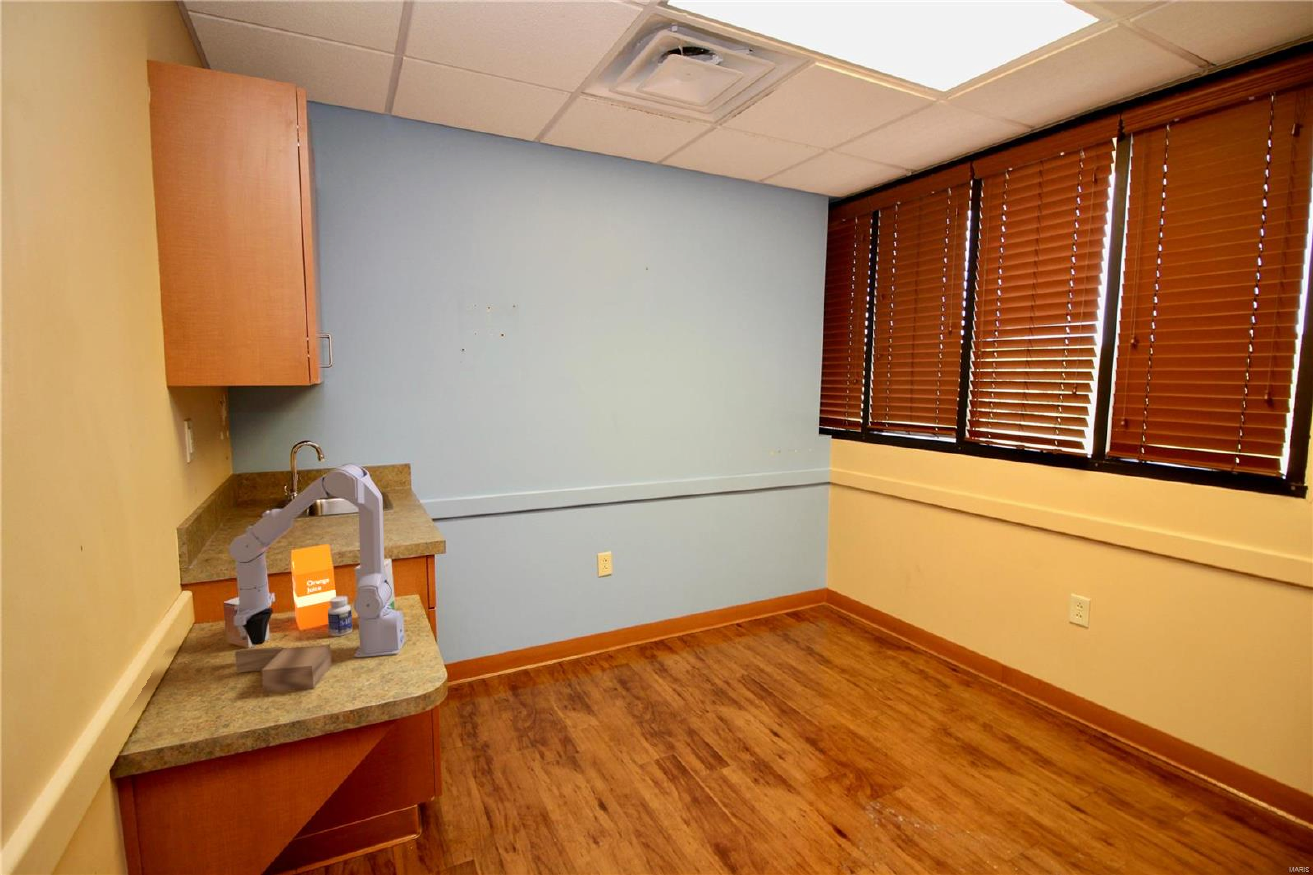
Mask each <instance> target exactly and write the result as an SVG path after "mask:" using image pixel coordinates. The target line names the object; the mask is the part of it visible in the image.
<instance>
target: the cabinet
mask: <svg viewBox="0 0 1313 875" xmlns="http://www.w3.org/2000/svg"><path fill="white" fill-rule="evenodd" d="M282 648H283V649H282V650H281V651H280V652H279V653H278V654H277V655H276V656H275V657H274V658H273V659H272V660H271V661H270V662H269V663H268V664H267V665H266V666H265V667H264V668H263V669H262V670H261V674H262V675H261V676H262V687H263V688H262V689H263V694H271V693H283V692H285V693H286V692H294V691H306V690H315V688H316V687H317V685H318V684H319V682H320V681H321V680H322V679H323V678H324V677H325V675H327V673H328V671H329V670H330V669H331V668H332V656H331V645H330V644H324V645H323V644H320V645H309V646H308V645H307V646H299V647H298V646H297V647H282Z"/></svg>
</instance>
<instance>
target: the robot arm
mask: <svg viewBox="0 0 1313 875" xmlns="http://www.w3.org/2000/svg"><path fill="white" fill-rule="evenodd" d="M331 496H333V497H335V498H338V499H339V498H340V499H342V500H344V501H348V502H349V503H350V504H352V505H353V506H355V507H356V508H357V509H358V527H359V528H358V532H359V533H358V534H359V539H358V540H359V562H360V564H359V565H360V574H361V575H360V580H359V584H358V594H357V593H356V596H355V599H354V601H353V609H354V611H355V613H356V614H357V622H358V624H357V625H358V636H359V648H358V649H357V651H356V652H355V654H354V655H353V656H354V658H364V657H365V658H366V657H376V656H377V657H378V656H390V655H398V654H399V652H400V650H401V649H402V647H403V645H404V643H406V635H405V621H404V613H403V611H402V610H396V609H395V610H392V609H391V606H390V604H389V602H388V600H389V599H390V597H391V595H392V587H391V585H390V584H389V582H388V574H387V573H386V572H385V570H384V559H385V548H384V546H385V545H384V542H385V541H384V540H385V538H384V510H383V509H384V508H383V507H384V503H383V502H384V501H383V494H382V493H381V492H380V491H379V488H378V487H377V486H376V484H375V483H374V481H373V479H372V478H371V475H370V473H369V471H368V470H367V469H365V468H364V467H362V466H360V465H359V464H357V463H354V462H348V463H347V462H346V463H345V464H342V465H341V466H339V467H337V468H334V469H332V470H329V471H328V472H327V473H326V474H325V475H323V476H321V477H319V478H317V479H315V480H314V481H313V482H311V483H310V484H309V485H308V486H306V488H305V489H303V491H301V492H300V493H299V494H298V495H297V496H296V497H294V498H293V499H292V500H291V501H290V502H289V503H288V504H286V506H284V507H283V508H274V509H272V510H268V509H267V510H266V511H265V512H263V513H262V514H261V516H262V518H260V519H259V520H258V521H257V522H256V523H254V524H253V525H252V526H251V525H249V526H247V527H246V528H245V529H244V530H245V533H243V534H242V535H239V536H236V537H234V539H233V540H232V542H231V543H230V545H229V548H228V551H229V552H228V553H229V555H230V557H231V558H232V559H233V560H235V571H236V582H237V592H238V593H237V594H238V597H239V604H238V605H236V606H235V607H234V610H238V611H237V614H236V616H234V617H233V618H234V626H237V625H242V626H243V627H244V628H245V630H246V632H247V634H248V636H249V638H250V641H251V643H252V645H255V646H257V645H262V644H264V643H265V642H266V641H265V637H266V631H267V626H268V622H270V619H271V617H272V615H273V612H274V609H273V608H271V606H272V603H273V602H276V597H275V592H270V591H269V579H268V578H269V577H268V568H267V561H266V560H267V558H266V557H267V556H266V553H267V551H268V549H269V547H270V546H272V545H273V544H275V543H276V542H277V541H278V540H280V539H281V538H282V537H283V536H284V535H285V534H286V533H288V532H289V531H290V530H292V528H293V527H294V520H295V518H296V517H298V516H299V515H300V514H302V513H303V512H304V511H305V510H306V509H308V508H310V506H311V505H313V504H314V503H316V501H318V500H319V499H323V498H325V499H326V498H329V497H331ZM266 608H267V609H266Z"/></svg>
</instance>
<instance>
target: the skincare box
mask: <svg viewBox="0 0 1313 875" xmlns="http://www.w3.org/2000/svg"><path fill="white" fill-rule="evenodd" d="M384 570H385V572H386V573H387V574H388V582H389V584H390V585H391V587H392V595H391V597H390V599H389V600H388V602H389V604H390V606H391V609H392V610H396V602H395V601H396V599H395V588H394V575H393V563H392V558H384ZM354 574H355V585H356V595H357V594H358V584H359V580H360V575H361V574H360V564H359V565H358V566H356V567H354Z"/></svg>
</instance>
